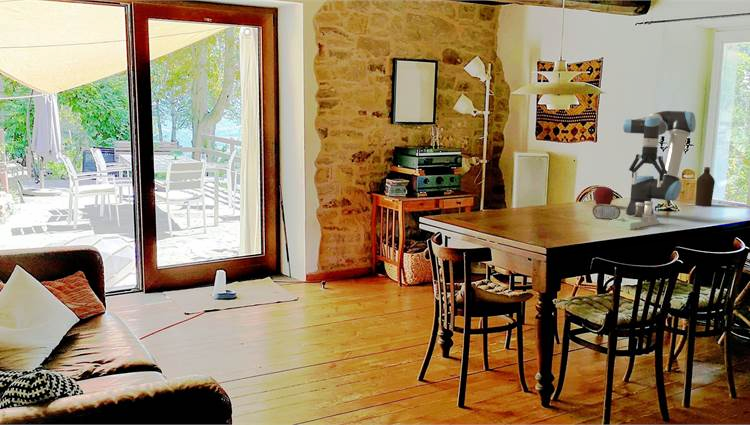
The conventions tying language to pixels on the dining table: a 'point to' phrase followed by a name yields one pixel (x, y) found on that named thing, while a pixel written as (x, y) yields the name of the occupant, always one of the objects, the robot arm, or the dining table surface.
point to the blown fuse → (639, 209)
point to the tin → (606, 211)
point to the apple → (603, 195)
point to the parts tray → (626, 223)
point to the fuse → (648, 208)
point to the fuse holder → (646, 219)
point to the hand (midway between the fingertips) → (646, 185)
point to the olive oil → (705, 188)
